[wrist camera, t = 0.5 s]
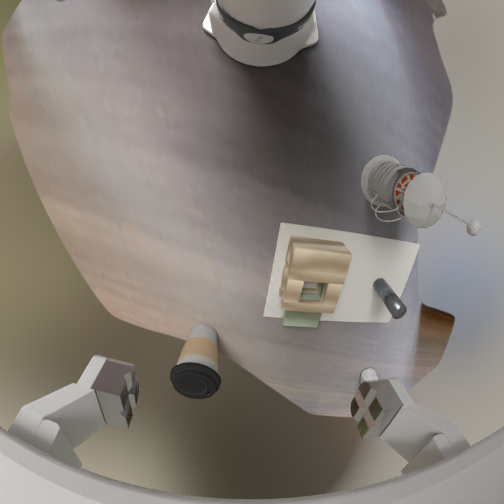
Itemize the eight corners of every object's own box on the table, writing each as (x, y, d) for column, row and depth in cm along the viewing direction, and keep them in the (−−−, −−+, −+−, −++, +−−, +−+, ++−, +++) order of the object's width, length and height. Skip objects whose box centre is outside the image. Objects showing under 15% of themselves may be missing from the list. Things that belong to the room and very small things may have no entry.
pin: (375, 277, 52) (396, 305, 43) (387, 278, 53) (408, 305, 44) (371, 289, 54) (390, 318, 45) (382, 290, 54) (402, 318, 45)
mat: (280, 222, 48) (280, 222, 47) (419, 243, 50) (420, 244, 50) (263, 315, 56) (263, 316, 56) (388, 321, 58) (388, 322, 58)
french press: (413, 190, 45) (505, 241, 23) (366, 221, 48) (444, 295, 25) (392, 145, 42) (494, 170, 19) (342, 176, 45) (424, 225, 22)
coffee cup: (223, 351, 60) (219, 403, 47) (182, 346, 60) (170, 397, 46) (226, 319, 56) (221, 374, 43) (181, 314, 56) (166, 366, 42)
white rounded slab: (372, 386, 69) (385, 418, 58) (359, 390, 69) (370, 423, 58) (374, 365, 65) (389, 399, 54) (359, 370, 65) (373, 405, 54)
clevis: (290, 235, 48) (295, 247, 43) (342, 242, 49) (352, 255, 44) (273, 313, 55) (276, 331, 50) (320, 316, 56) (326, 333, 51)
